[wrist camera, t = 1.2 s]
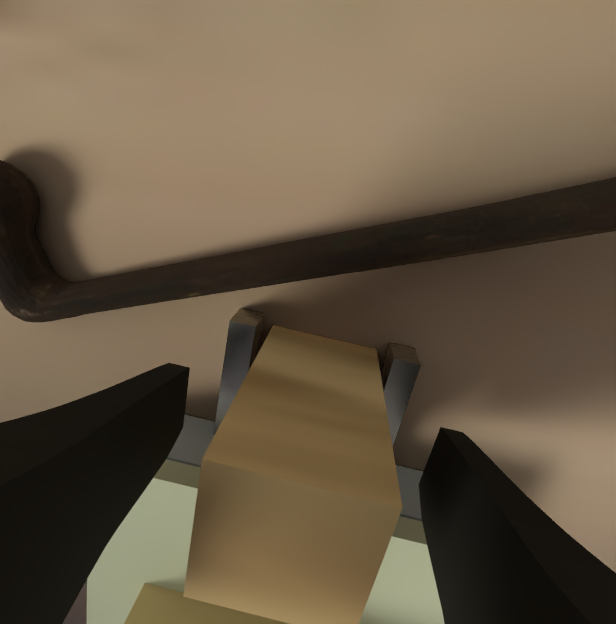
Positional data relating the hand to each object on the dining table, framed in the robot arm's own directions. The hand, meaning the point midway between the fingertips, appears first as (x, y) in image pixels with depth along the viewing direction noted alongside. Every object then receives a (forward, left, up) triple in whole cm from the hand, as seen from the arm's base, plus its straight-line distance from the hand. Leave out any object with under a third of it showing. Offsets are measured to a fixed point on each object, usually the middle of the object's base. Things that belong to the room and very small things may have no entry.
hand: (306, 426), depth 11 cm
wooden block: (0, 0, -3) cm, 3 cm away
